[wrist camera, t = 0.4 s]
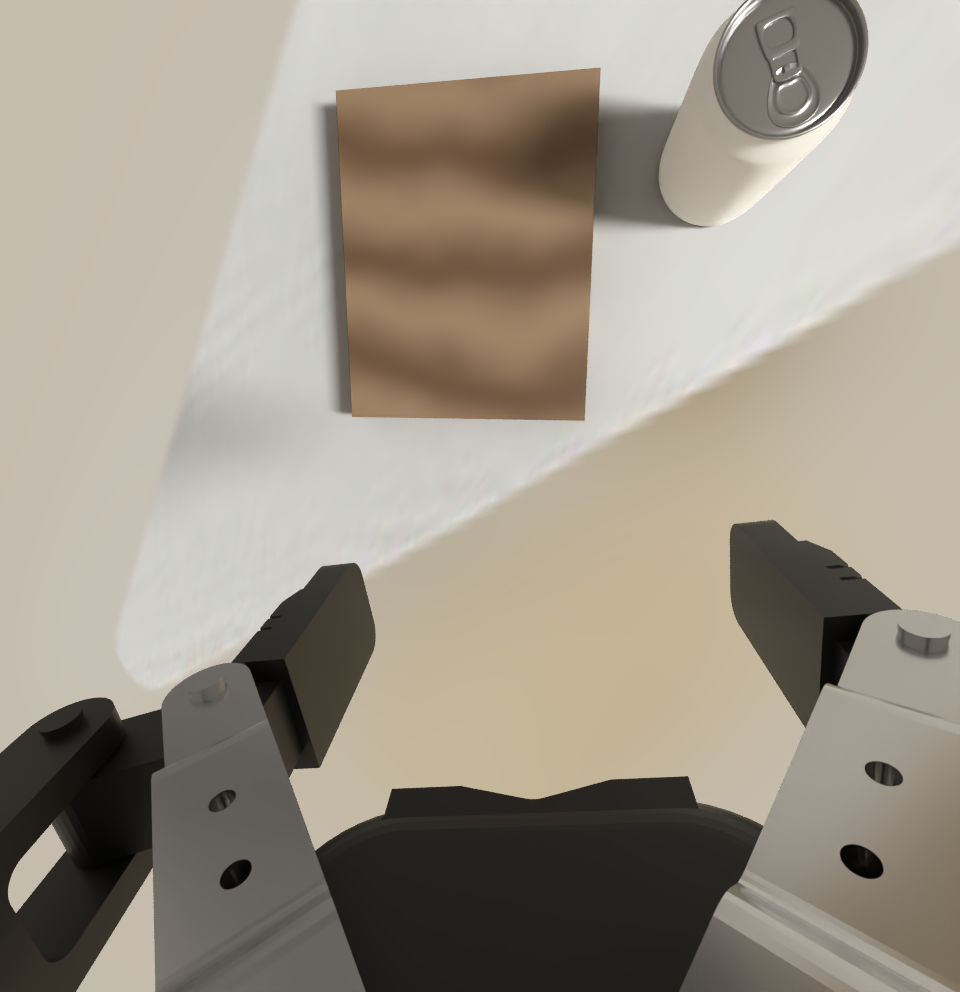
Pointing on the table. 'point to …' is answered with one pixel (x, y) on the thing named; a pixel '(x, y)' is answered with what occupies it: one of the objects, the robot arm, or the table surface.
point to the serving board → (469, 245)
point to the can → (760, 103)
